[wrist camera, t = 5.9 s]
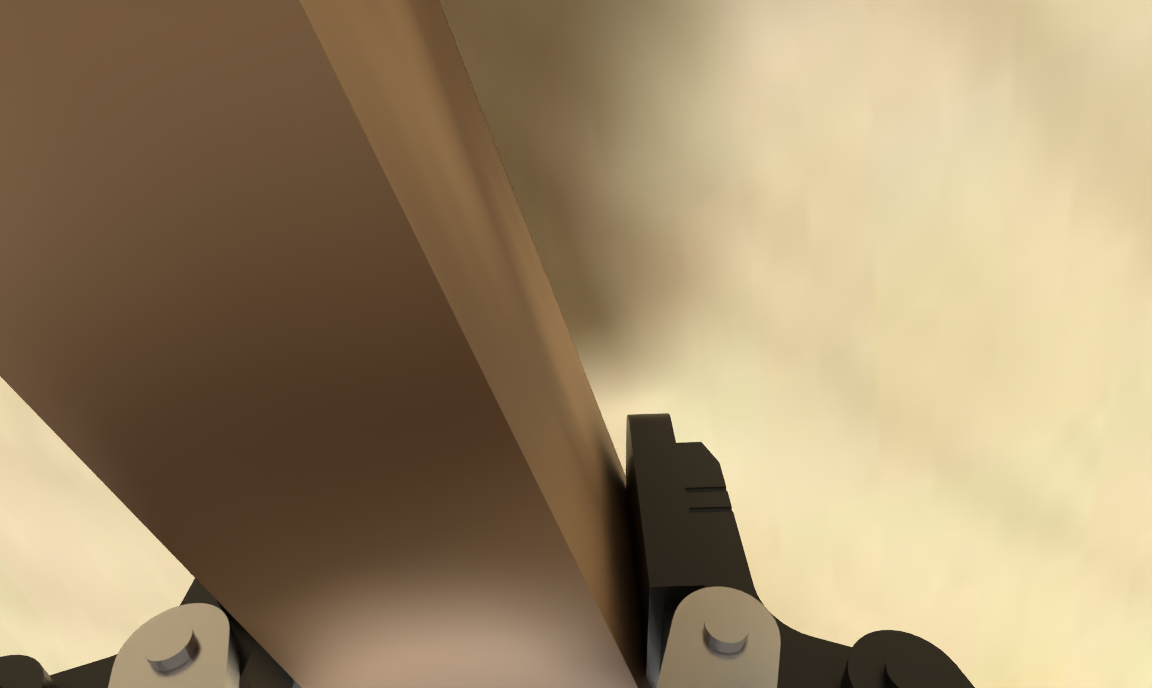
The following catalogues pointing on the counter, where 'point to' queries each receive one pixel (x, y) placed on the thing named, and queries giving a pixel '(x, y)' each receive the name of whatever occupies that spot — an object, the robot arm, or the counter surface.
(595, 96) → the counter surface
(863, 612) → the counter surface
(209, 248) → the bar
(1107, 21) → the counter surface
